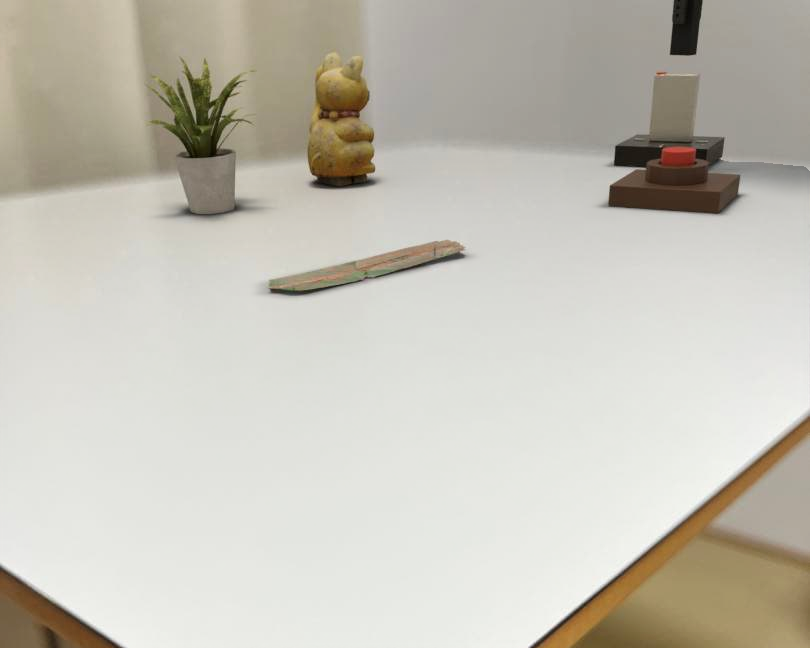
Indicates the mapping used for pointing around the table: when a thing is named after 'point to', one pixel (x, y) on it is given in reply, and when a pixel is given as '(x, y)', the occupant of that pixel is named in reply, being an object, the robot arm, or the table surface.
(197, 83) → the house plant
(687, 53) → the robot arm
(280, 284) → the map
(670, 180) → the switch block
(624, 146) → the dial panel
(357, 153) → the decorative figurine
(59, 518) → the table surface
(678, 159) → the power button
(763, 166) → the table surface
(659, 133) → the white upright block
